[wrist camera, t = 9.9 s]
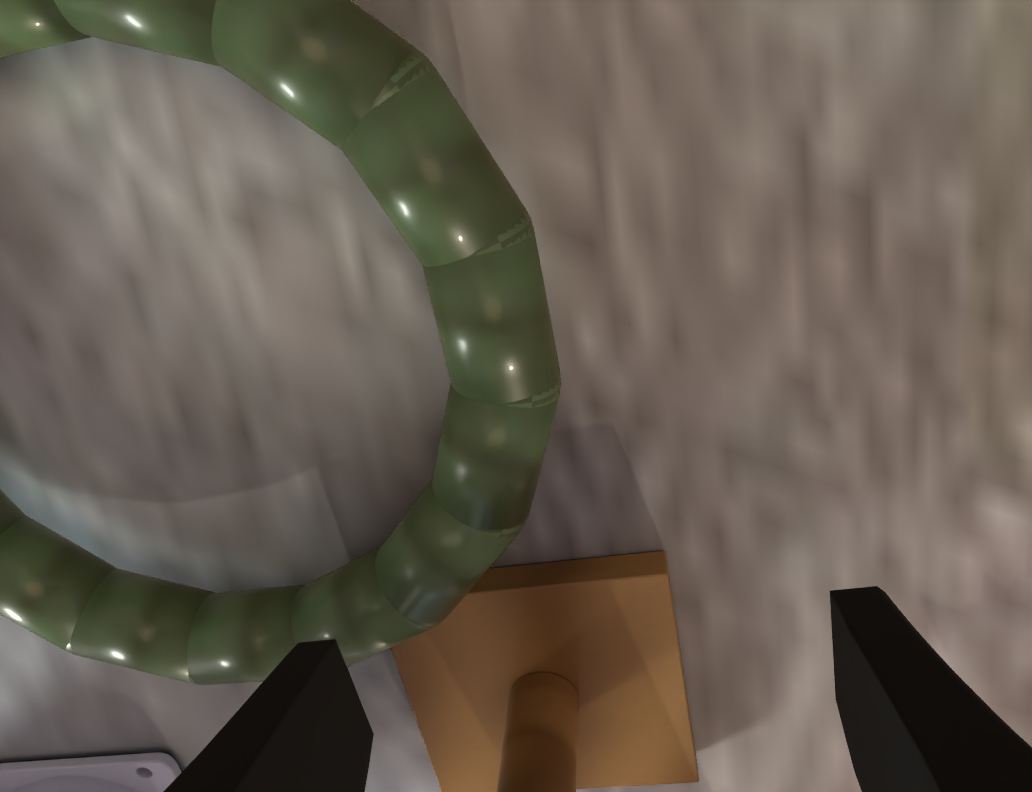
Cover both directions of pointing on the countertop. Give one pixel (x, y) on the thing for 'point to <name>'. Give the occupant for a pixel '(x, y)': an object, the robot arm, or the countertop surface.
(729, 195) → the countertop surface
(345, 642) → the ring
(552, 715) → the ring stand
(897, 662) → the robot arm
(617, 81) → the countertop surface
